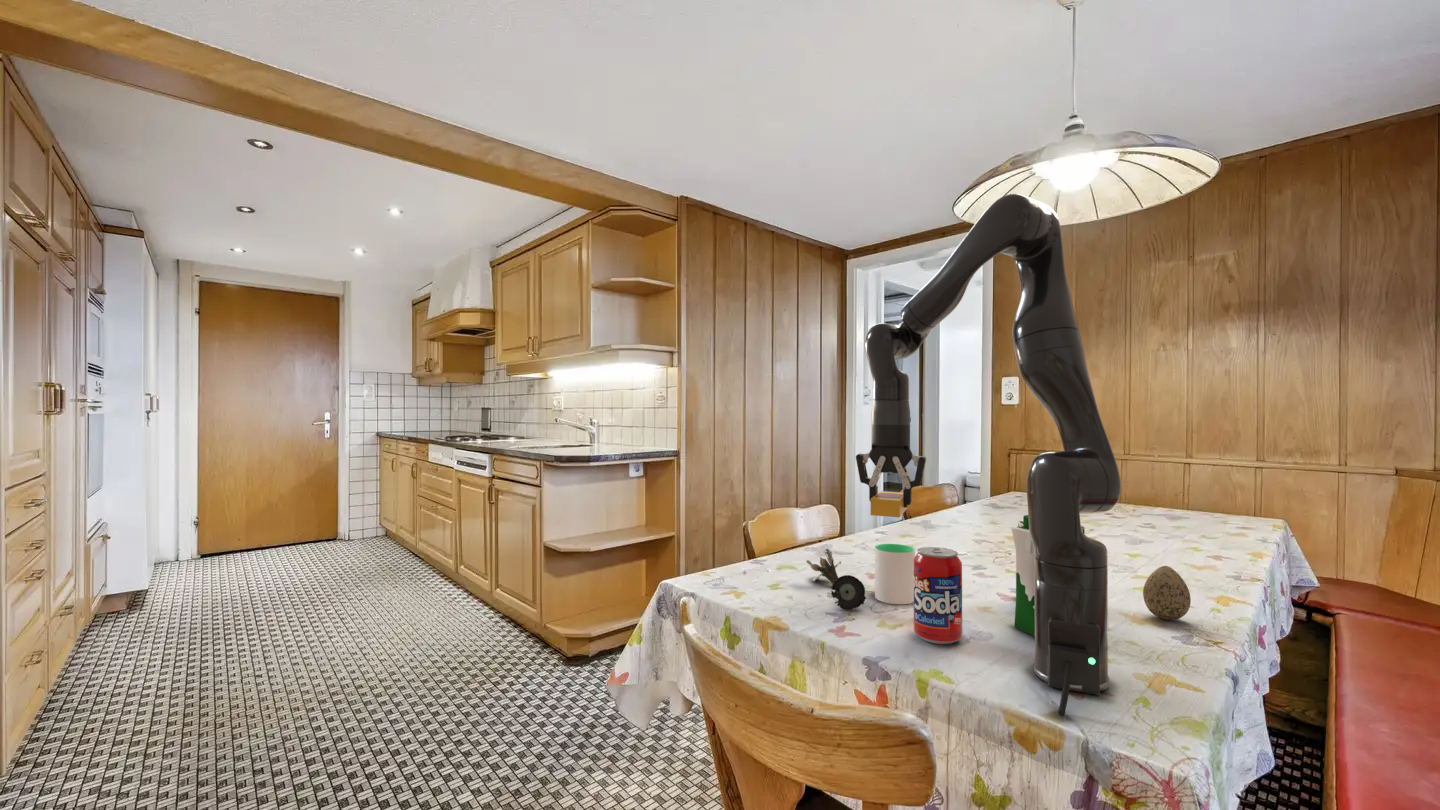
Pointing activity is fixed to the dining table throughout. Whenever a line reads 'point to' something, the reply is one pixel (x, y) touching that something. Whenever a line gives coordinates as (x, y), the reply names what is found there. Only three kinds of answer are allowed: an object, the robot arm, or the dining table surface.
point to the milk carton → (1024, 578)
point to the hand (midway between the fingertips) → (890, 505)
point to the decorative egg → (1166, 594)
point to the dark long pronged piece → (841, 584)
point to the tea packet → (888, 504)
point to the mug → (894, 573)
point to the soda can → (938, 595)
